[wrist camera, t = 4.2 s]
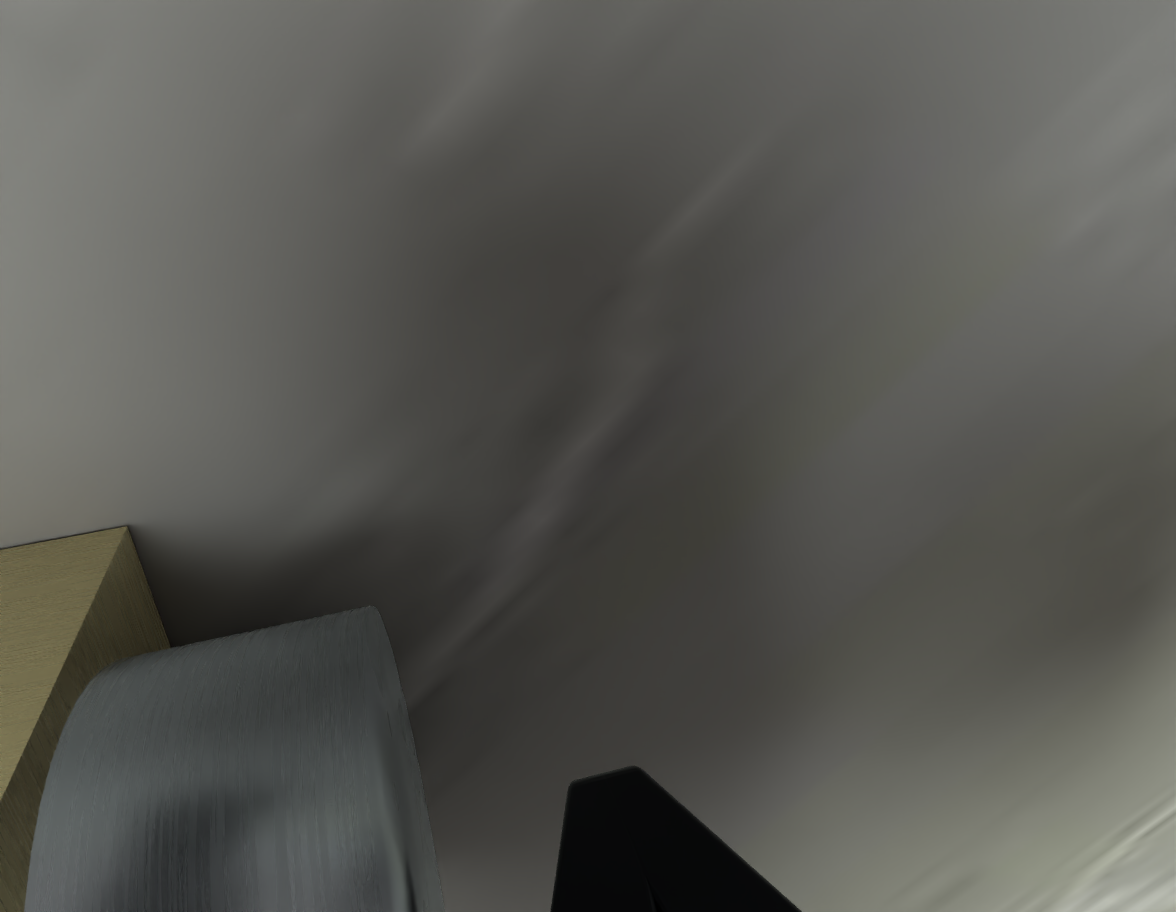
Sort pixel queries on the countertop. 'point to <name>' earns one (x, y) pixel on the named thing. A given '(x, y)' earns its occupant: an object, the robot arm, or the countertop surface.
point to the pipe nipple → (197, 753)
